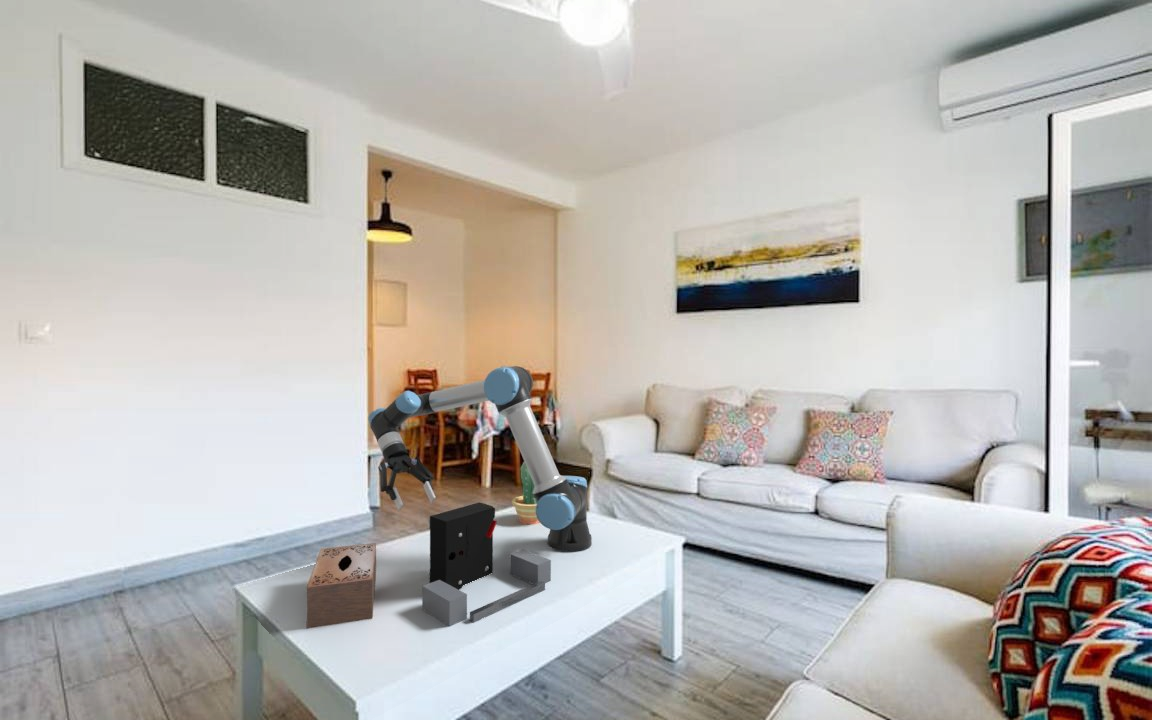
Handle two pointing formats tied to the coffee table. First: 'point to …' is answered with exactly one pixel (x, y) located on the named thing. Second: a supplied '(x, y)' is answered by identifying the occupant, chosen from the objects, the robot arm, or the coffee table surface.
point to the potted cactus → (526, 499)
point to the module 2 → (530, 567)
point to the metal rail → (506, 601)
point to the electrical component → (462, 544)
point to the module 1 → (444, 602)
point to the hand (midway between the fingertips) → (417, 503)
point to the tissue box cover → (342, 585)
